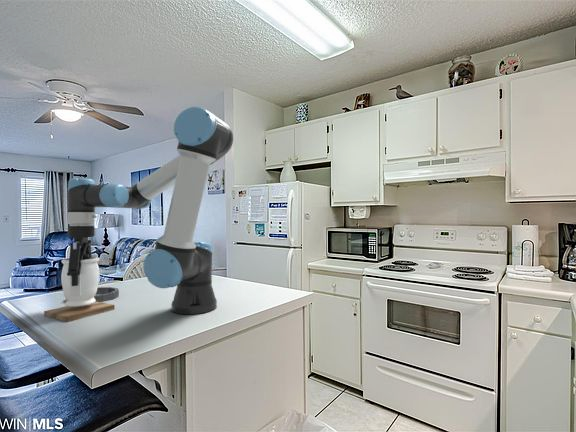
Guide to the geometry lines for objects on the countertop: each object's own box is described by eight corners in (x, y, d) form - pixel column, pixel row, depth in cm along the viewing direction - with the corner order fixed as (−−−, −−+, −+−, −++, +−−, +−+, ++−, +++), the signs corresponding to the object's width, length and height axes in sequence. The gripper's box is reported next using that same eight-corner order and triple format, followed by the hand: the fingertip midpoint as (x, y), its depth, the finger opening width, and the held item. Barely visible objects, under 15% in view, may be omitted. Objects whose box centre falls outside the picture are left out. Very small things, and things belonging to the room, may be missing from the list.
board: (114, 309, 110) (114, 304, 110) (67, 321, 96) (68, 316, 96) (91, 304, 116) (91, 300, 116) (44, 315, 102) (44, 311, 102)
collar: (127, 295, 129) (127, 289, 129) (86, 305, 114) (86, 298, 114) (101, 291, 136) (101, 285, 136) (59, 300, 122) (59, 293, 122)
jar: (64, 310, 99) (64, 261, 99) (58, 303, 106) (58, 258, 106) (102, 303, 106) (103, 258, 106) (94, 298, 113) (95, 255, 113)
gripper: (84, 225, 96) (83, 299, 96) (102, 224, 118) (102, 284, 118) (54, 226, 94) (54, 301, 94) (79, 224, 116) (78, 285, 116)
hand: (81, 292), depth 106 cm, fingers closed on jar, 10 cm apart
